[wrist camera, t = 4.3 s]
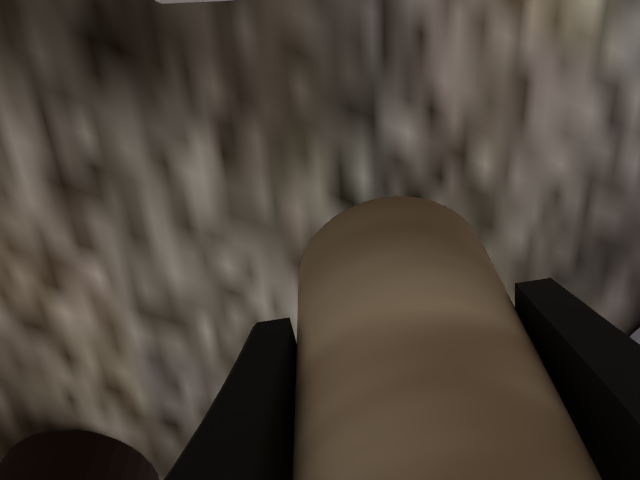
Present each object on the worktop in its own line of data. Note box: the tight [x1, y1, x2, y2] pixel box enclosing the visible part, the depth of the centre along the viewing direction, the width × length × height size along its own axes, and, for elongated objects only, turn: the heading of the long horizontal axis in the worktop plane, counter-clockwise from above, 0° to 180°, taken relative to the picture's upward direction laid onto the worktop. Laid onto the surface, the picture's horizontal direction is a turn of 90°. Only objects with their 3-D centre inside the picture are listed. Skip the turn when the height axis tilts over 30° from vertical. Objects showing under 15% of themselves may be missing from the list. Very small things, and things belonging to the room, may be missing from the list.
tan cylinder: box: [293, 196, 602, 480], centre depth 9 cm, size 4×4×7 cm
